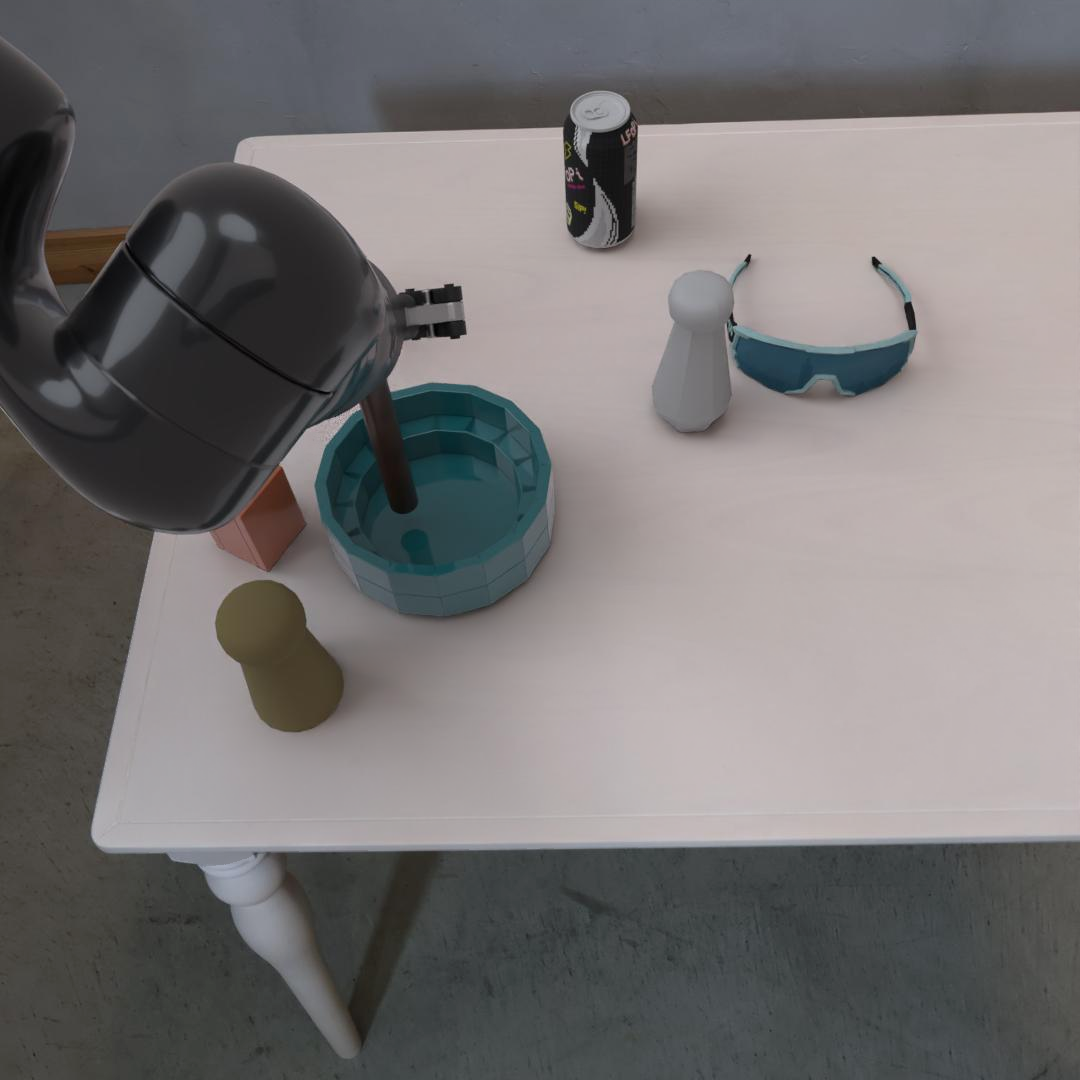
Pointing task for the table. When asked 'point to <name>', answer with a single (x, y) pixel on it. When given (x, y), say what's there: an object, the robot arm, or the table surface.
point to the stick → (389, 449)
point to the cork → (279, 656)
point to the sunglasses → (822, 353)
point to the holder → (264, 524)
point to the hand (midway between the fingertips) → (359, 318)
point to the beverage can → (600, 169)
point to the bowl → (441, 502)
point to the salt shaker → (695, 353)
